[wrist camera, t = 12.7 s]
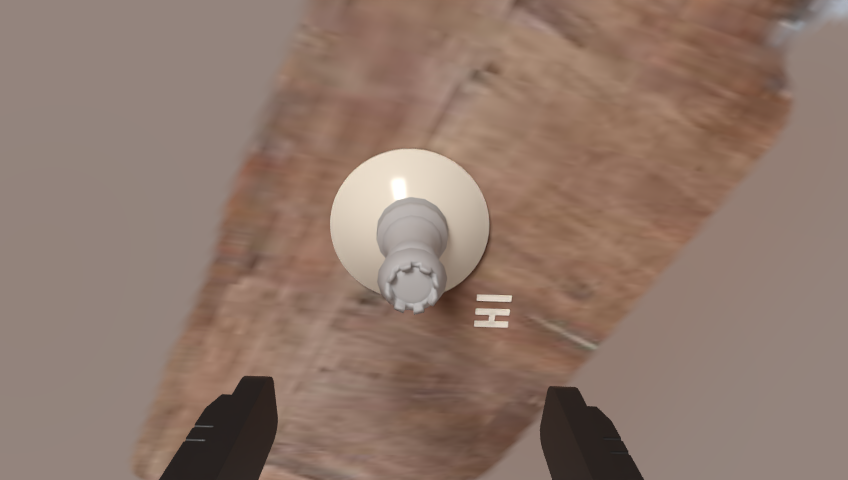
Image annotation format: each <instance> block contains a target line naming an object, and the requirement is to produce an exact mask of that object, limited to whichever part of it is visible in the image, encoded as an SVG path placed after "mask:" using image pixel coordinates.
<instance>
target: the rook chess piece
mask: <svg viewBox="0 0 848 480" xmlns="http://www.w3.org/2000/svg"><path fill="white" fill-rule="evenodd" d="M448 231H449V230H448V226H447V221H446V217H445V216H444V215H443V213H442V212H441V211H440V209H439V208H438V207H437V206H436V205H434V204H433V203H431V202H429V201H427V200H426V199H421V198H414V197H408V198H404V199H400V200H396V201H395V202H394V203H392V204H391V205H389V206H388V207H387V208H385V209H384V211H383V213H382V215H381V216H380V218H379V220H378V224H377V233H376V234H377V238H376V240H377V243H378V246H379V249H380V252H381V254H382V255H383V256H384V257H385V261H384V262H383V264H382V265H381V267H380V269H379V272H378V280H377V283H378V286H379V289H380V292H381V294H382V295H383V297H384V298H385V299H386V300H387V301H388V302H389V303H390V304H392V305H394V309H395V310H397V311H399V312H401V313H404V310H413V311H414V314H419V313H423V312H424V308H427V307H429V306H431V305H432V306H434V304H435V303H436V302H437V301H438V300H439V298H440V297H441V295H442V294H443V293H444V291H445V288H446V282H447V275H446V271H445V268H444V265H443V264H442V263H441V262H440V261H439V258H440V257H441V255H442V254H443V252H444V251H445V249H446V247H447V241H448V236H449V235H448Z"/></svg>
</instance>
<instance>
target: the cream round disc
mask: <svg viewBox="0 0 848 480" xmlns="http://www.w3.org/2000/svg"><path fill="white" fill-rule="evenodd" d="M408 197H414V198H421V199H426V200H427V201H429V202H431V203H433V204H434V205H436V206H437V207H438V208H439V209H440V211H441V212H442V213H443V215H444V216H445V217H446V221H447V226H448V230H449V231H448V235H449V236H448V241H447V247H446V249H445V251H444V252H443V254H442V255H441V257H440V258H439V261H440V262H441V263H442V264H443V265H444V268H445V271H446V275H447V282H446V288H445V291H444V292H446V291H448V290H450V289H451V288H453V287H455V286H456V285H458V284H459V283H460V282H462V281H463V280H464V279H465V278H466V277H467V276H468V275H469V274H470V273H471V272H472V271H473V270H474V268H475V267H476V265H477V264H478V262H479V261H480V259H481V257H482V255H483V253H484V251H485V248H486V244H487V241H488V235H489V214H488V209H487V205H486V202H485V200H484V197H483V194H482V193H481V191H480V189H479V187H478V185H477V184H476V182H475V181H474V180H473V178H472V177H471V176H470V175H469V174H468V173H467V172H466V171H465V170H464V169H463V168H462V167H461V166H460V165H458V164H457V163H456V162H454V161H453V160H451V159H449V158H448V157H446V156H444V155H441V154H439V153H436V152H433V151H429V150H425V149H417V148H401V149H394V150H390V151H386V152H383V153H380V154H378V155H376V156H373V157H371V158H370V159H368V160H366V161H365V162H363V163H362V164H361V165H359V166H358V167H357V168H356V169H355V170H354V171H353V172H352V173H351V174H350V175H349V176H348V177H347V179H346V180H345V181H344V183H343V184H342V186H341V187H340V189H339V191H338V193H337V195H336V197H335V200H334V203H333V206H332V211H331V218H330V230H331V238H332V242H333V246H334V248H335V251H336V253H337V256H338V257H339V259H340V261H341V263H342V264H343V266H344V267H345V268H346V270H347V271H348V272H349V273H350V274H351V275H352V276H353V277H354V278H355V279H356V280H357V281H359V282H360V283H361V284H362V285H364V286H366V287H367V288H369V289H370V290H373V291H375V292H377V293H379V294H381V292H380V289H379V286H378V283H377V280H378V272H379V269H380V267H381V265H382V264H383V262H384V261H385V257H384V256H383V255H382V254H381V252H380V249H379V246H378V243H377V240H376V238H377V234H376V233H377V224H378V220H379V218H380V216H381V215H382V213H383V211H384V209H385V208H387V207H388V206H389V205H391V204H392V203H394V202H395V201H396V200H400V199H404V198H408Z"/></svg>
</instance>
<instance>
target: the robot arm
mask: <svg viewBox="0 0 848 480" xmlns="http://www.w3.org/2000/svg"><path fill="white" fill-rule="evenodd" d="M277 424H278V415H277V406H276V398H275V389H274V381H273V378H272V377H266V376H244V377H243V378H242V379H241V380H240V382H239V384H238V385H237V387H236V389H235V390H234V392H233V394H232V395H227V394H222V395H221V396H219V397H218V398H217V399H216V400H215V401H213V402H212V403H211V404H210V405H209V406H207V407H206V408H205V410H204V411H203V413H202V414H201V416H200V417H199V419H198V420H197V422H196V423H195V427H194V428H192V430H191V431H190V433H189V434H188V436H187V437H186V441H185V442H183V443H182V445H181V447H180V448H179V450H178V451H177V453H176V454H175V456H174V457H173V459H172V460H171V462H170V463H169V465H168V467H167V468H166V470H165V471H164V473H163V474H162V476H161V477H160V479H159V480H258V479H259V477H260V474H261V472H262V469H263V467H264V464H265V462H266V459H267V457H268V454H269V452H270V449H271V447H272V444H273V442H274V439H275V435H276V431H277ZM540 439H541V445H542V449H543V452H544V456H545V459H546V461H547V465H548V468H549V471H550V474H551V477H552V480H644V479H643V477H642V476H641V474H640V472H639V470H638V468H637V466H636V464H635V463H634V461H633V459H632V457H631V456H630V455H629V454H628V450H627V448H626V446H625V445H624V443H623V441H621V437H620V436H619V434H618V432H617V430H616V428H615V426H614V425H613V423H612V421H611V420H610V419H609V418H608V417H606V415H605V414H604V413H603V412H602V411H600V410H599V409H598V408H597V407H592V406H591V407H590V406H587V405H586V403H585V401H584V399H583V397H582V395H581V393H580V391H579V390H578V388H576V387H557V386H550V387H549V388H548V391H547V395H546V400H545V405H544V410H543V415H542V420H541V425H540Z"/></svg>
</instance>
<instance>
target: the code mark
mask: <svg viewBox="0 0 848 480" xmlns="http://www.w3.org/2000/svg"><path fill="white" fill-rule="evenodd" d="M511 300H512V296H509V295H478V294H477V301H499V302H511ZM509 313H510V309H482V308H476V310H475V314H476V315H489V320H488V321H474V327H504V328H507V327H508V322H506V321H494V320H495V315H508V316H509Z"/></svg>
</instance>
